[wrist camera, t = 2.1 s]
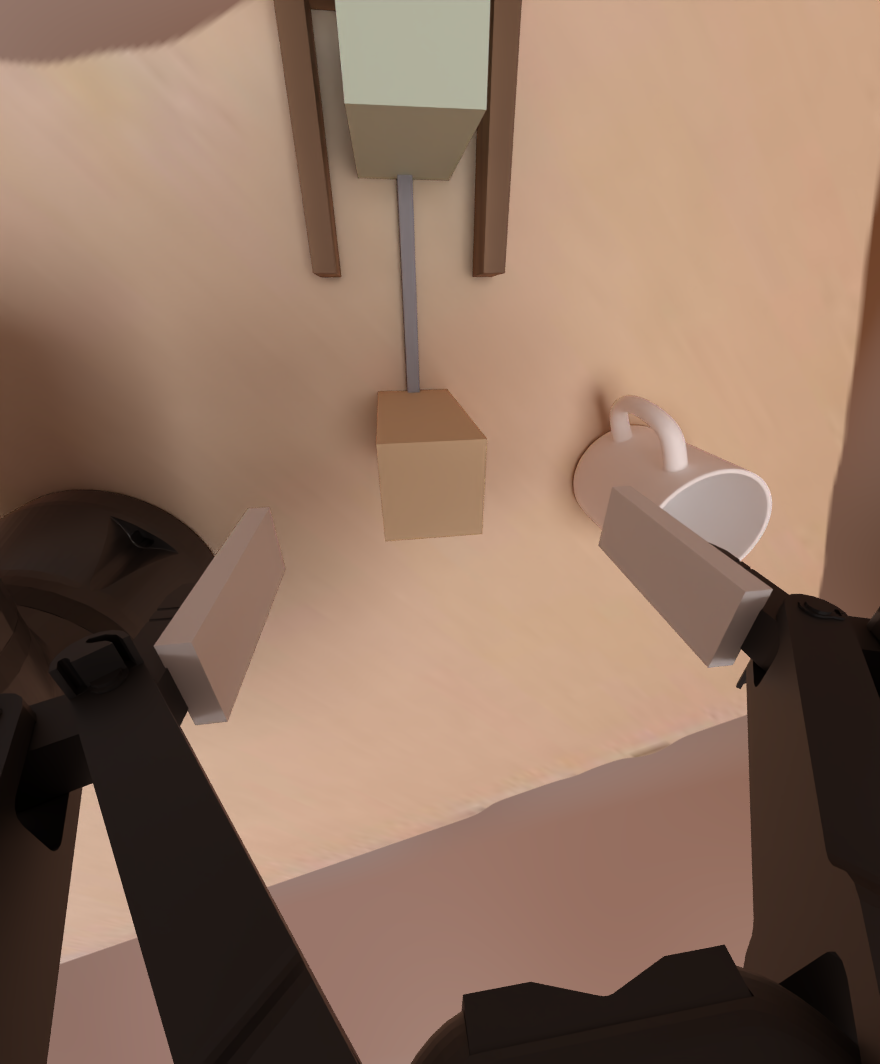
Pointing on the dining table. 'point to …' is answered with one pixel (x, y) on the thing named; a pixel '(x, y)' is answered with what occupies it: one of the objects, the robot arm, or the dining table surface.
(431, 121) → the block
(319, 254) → the lane
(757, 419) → the dining table surface
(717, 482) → the cup
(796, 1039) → the robot arm
